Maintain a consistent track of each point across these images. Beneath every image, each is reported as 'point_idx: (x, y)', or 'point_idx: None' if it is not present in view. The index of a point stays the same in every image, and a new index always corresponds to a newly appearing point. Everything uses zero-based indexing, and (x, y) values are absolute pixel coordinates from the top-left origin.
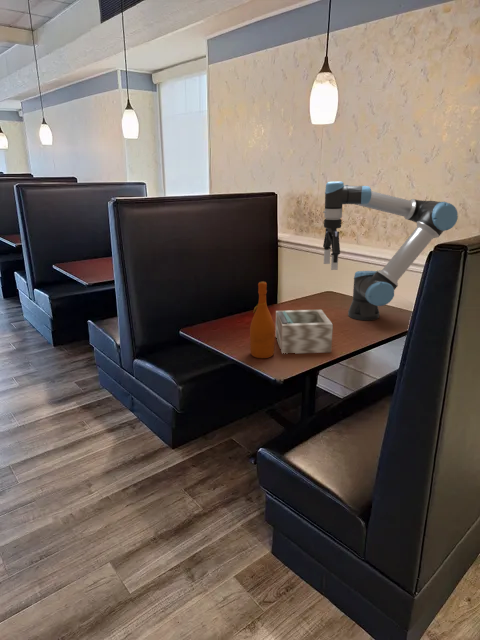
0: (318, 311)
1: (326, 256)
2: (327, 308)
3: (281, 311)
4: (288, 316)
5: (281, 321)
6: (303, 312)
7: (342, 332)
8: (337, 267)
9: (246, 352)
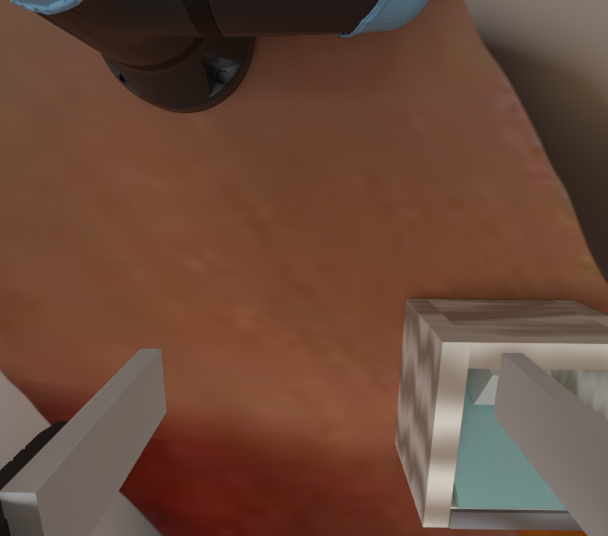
0: (472, 361)
1: (119, 454)
2: (58, 182)
3: (437, 508)
4: (478, 480)
5: (573, 527)
6: (459, 423)
7: (391, 205)
8: (540, 368)
9: (509, 530)
